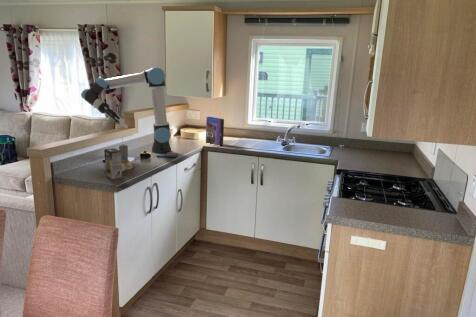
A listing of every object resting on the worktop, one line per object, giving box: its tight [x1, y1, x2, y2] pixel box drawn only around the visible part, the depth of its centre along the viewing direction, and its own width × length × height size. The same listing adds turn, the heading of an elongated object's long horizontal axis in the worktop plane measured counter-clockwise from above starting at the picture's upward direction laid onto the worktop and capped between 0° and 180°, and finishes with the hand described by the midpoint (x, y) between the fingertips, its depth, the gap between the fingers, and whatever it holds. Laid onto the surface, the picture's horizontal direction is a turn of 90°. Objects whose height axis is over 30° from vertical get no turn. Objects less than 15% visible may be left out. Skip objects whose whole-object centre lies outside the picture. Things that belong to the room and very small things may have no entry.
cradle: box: [121, 160, 134, 172], centre depth 221 cm, size 11×10×4 cm
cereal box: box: [205, 116, 225, 146], centre depth 307 cm, size 17×5×24 cm, turn 48°
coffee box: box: [103, 147, 123, 180], centre depth 202 cm, size 9×6×16 cm
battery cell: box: [118, 143, 129, 161], centre depth 233 cm, size 6×6×13 cm
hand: (125, 125), depth 237 cm, fingers open, 13 cm apart
